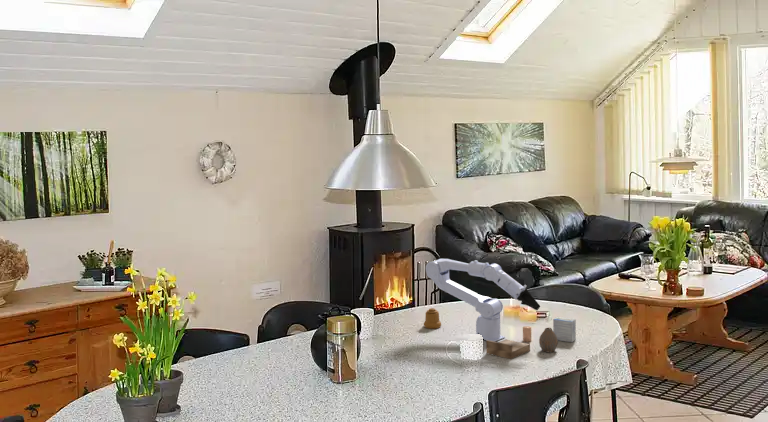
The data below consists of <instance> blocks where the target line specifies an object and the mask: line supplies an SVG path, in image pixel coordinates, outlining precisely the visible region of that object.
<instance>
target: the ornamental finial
mask: <svg viewBox="0 0 768 422" xmlns="http://www.w3.org/2000/svg"><path fill="white" fill-rule="evenodd" d="M424 319H425V320H424V322H423V326H424V328H425V329H430V330H436V329H439V328H441V326H442V322H441V321H440V311H438V310H437V309H436V308H434V307H433V308H432V307H431V308H428V309H427V310H426V311H425V318H424Z"/></svg>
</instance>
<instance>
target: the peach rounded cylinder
mask: <svg viewBox="0 0 768 422" xmlns="http://www.w3.org/2000/svg"><path fill="white" fill-rule="evenodd" d="M522 341H523V343H530V342H532V326H523V327H522Z"/></svg>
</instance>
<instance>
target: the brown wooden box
mask: <svg viewBox="0 0 768 422" xmlns="http://www.w3.org/2000/svg"><path fill="white" fill-rule="evenodd" d="M485 341H486V349H485V350H486V354H487V353H489V354H488V355H491V354H493V355H492V356H495V355H496V356H495V357H501V358H504V359H510V360H512V359H514V358H517V357H519V356H521V355H524V354H525V353H528V352H530V351H531V344H530V343H527V342H521V341H515V340H511V339H506V338H505V339H502V340H501V341H500V340H499V341H490V340H485Z"/></svg>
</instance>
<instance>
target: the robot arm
mask: <svg viewBox="0 0 768 422" xmlns="http://www.w3.org/2000/svg"><path fill="white" fill-rule="evenodd" d="M450 270H451V271H461V272H467V274H468V275H469V276H472V277H480V278H483V279H485V280H487V281H492V282H494V284H496V285H497V286H498V287H500V288H501V289H502V290H503V291H505V292H506V293H507V294H508V295H510V296H511V297H512V298H513V299H514V300H516V301H519V302H520V304H521V305H523V306H527V307H529V308H531V309H533V310H535V311H538V310H539V309H540V307H541V306H540V304H539V303H538V301H537V300H536V299H535V298H534V297H533V296H532V294H531V292H530V291H529V290H528V288H527V285H526V284H524V285H522V284H521V283H519V281H517V280H516V279H514V278H513V277H512V276H510V275H509V274H508V273H506V272H505V271H504V270H503V268H502V266H501V265H500V264H498V263H497V262H496V263H495V262H492V263H491V264H490V263H489V262H479V260H476V259H475V260H472V261H470V262H469V263H467V262H463V261H458V260H456V259H455V260H454V259H450V258H438V259H436V260H433V261H429V262H428V263H426V265H425V273H426V277H428V278H429V279H431V281H432V282H433V283H434V284H435V285H436V286H437V287H438V289H440V290H441V291H443V292H444V293H448V294H449V295H451V296H453V297H455V298H457V299H459V300H461V301H462V302H465V303H466V304H469V306H472V307H474V308H475V312H478V313H479V314H480V315H478V317H477V318H476V320H475V335H476V334H480V335H482V337H483V339H484V341H487V340H490V341H495V342H499V341H500V340H504V338H505V339H506V337H505V335H501V312H503V308H504V306H503V303H502V301H501V299H498V298H496V297H495V298H492V297H489V296H485V295H481V294H478V292H475V291H473V290H471V289H469V288H467V287H465V286H463V285H462V284H460V283H457V282H456V281H453V280H451V278H450Z"/></svg>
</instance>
